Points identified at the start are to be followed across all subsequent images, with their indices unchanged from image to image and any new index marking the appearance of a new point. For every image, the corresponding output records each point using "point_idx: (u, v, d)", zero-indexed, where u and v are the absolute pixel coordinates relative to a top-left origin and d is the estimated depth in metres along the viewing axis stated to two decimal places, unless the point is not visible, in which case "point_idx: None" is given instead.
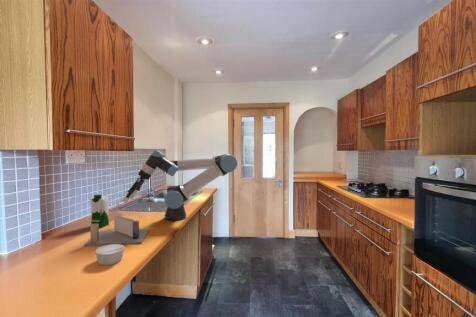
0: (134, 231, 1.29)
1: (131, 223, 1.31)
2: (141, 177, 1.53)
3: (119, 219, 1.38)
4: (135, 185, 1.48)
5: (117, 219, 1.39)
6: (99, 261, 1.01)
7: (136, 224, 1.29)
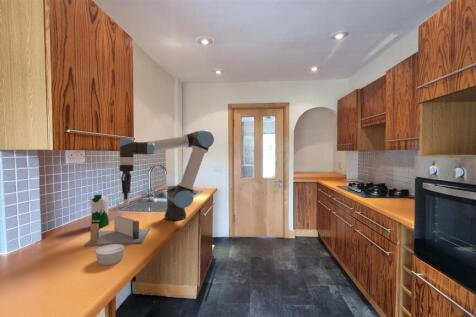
0: (134, 231, 1.29)
1: (131, 223, 1.31)
2: (124, 171, 1.41)
3: (119, 219, 1.38)
4: (124, 185, 1.40)
5: (117, 219, 1.39)
6: (99, 261, 1.01)
7: (136, 224, 1.29)
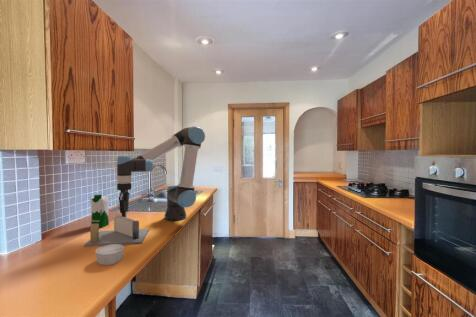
0: (134, 231, 1.29)
1: (131, 223, 1.31)
2: (121, 190, 1.37)
3: (119, 219, 1.38)
4: (122, 204, 1.36)
5: (117, 219, 1.39)
6: (99, 261, 1.01)
7: (136, 224, 1.29)
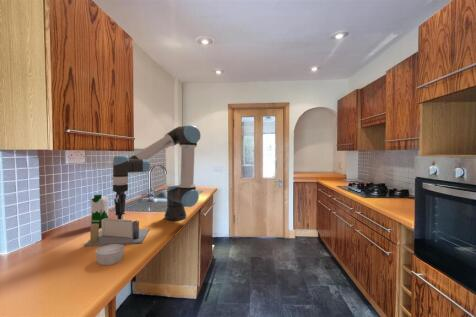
0: (134, 231, 1.29)
1: (130, 224, 1.30)
2: (117, 192, 1.30)
3: (110, 222, 1.32)
4: (117, 206, 1.30)
5: (106, 222, 1.32)
6: (99, 261, 1.01)
7: (136, 224, 1.29)
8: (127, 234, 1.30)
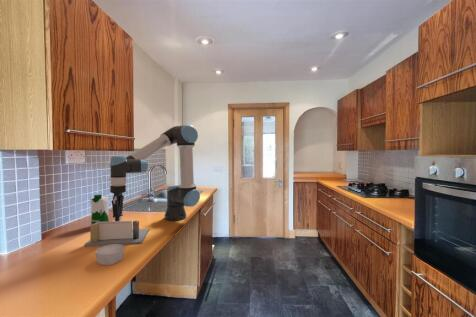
0: (134, 231, 1.29)
1: (129, 224, 1.29)
2: (115, 193, 1.26)
3: (105, 225, 1.27)
4: (115, 208, 1.26)
5: (100, 226, 1.26)
6: (99, 261, 1.01)
7: (136, 224, 1.29)
8: (126, 235, 1.28)
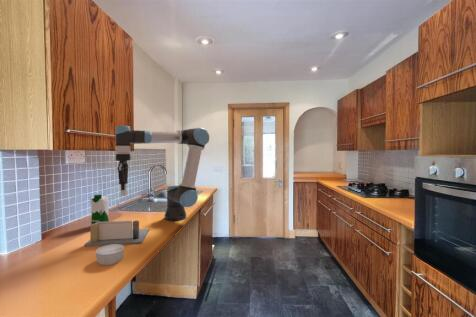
0: (134, 231, 1.29)
1: (129, 224, 1.29)
2: (120, 161, 1.33)
3: (105, 225, 1.27)
4: (121, 175, 1.32)
5: (100, 226, 1.26)
6: (99, 261, 1.01)
7: (136, 224, 1.29)
8: (126, 235, 1.28)
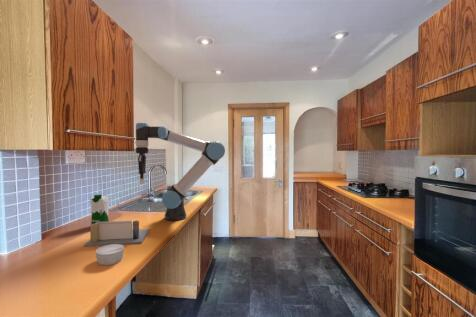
0: (134, 231, 1.29)
1: (129, 224, 1.29)
2: (140, 153, 1.54)
3: (105, 225, 1.27)
4: (140, 165, 1.53)
5: (100, 226, 1.26)
6: (99, 261, 1.01)
7: (136, 224, 1.29)
8: (126, 235, 1.28)
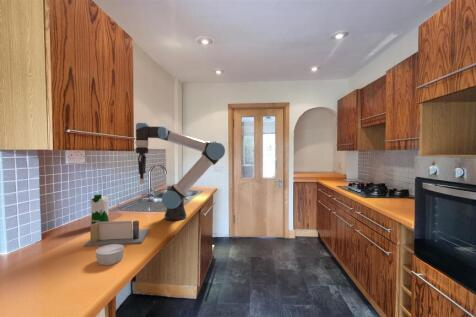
0: (134, 231, 1.29)
1: (129, 224, 1.29)
2: (140, 153, 1.54)
3: (105, 225, 1.27)
4: (140, 165, 1.53)
5: (100, 226, 1.26)
6: (99, 261, 1.01)
7: (136, 224, 1.29)
8: (126, 235, 1.28)
